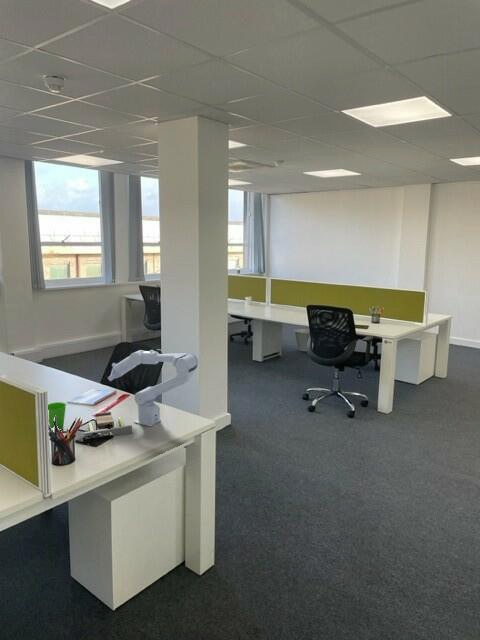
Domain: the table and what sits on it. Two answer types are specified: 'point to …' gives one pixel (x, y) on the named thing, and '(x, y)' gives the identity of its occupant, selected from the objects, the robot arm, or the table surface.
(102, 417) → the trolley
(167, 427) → the table surface
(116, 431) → the bay
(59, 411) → the cup
